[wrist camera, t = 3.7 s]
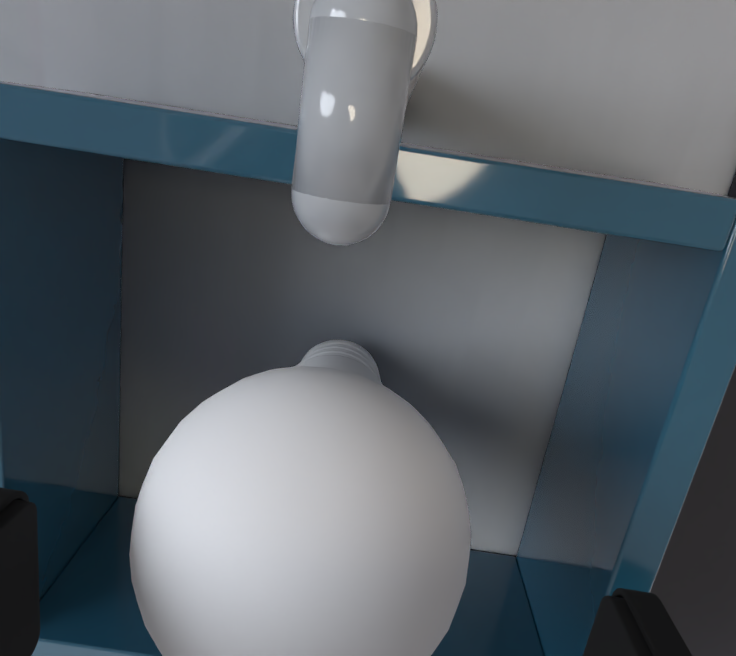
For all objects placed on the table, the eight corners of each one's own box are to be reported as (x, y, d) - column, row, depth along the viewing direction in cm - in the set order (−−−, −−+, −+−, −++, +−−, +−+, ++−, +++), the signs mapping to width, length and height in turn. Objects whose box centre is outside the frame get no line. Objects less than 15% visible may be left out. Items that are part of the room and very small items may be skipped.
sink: (90, 515, 21) (-197, 876, 11) (89, 9, 16) (-466, -221, 6) (537, 582, 21) (672, 1002, 11) (681, 103, 16) (1193, 47, 6)
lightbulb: (467, 412, 19) (560, 759, 8) (298, 478, 20) (195, 860, 9) (389, 240, 17) (384, 406, 7) (209, 321, 18) (-35, 574, 8)
